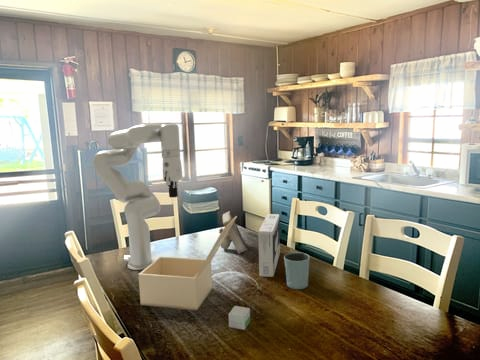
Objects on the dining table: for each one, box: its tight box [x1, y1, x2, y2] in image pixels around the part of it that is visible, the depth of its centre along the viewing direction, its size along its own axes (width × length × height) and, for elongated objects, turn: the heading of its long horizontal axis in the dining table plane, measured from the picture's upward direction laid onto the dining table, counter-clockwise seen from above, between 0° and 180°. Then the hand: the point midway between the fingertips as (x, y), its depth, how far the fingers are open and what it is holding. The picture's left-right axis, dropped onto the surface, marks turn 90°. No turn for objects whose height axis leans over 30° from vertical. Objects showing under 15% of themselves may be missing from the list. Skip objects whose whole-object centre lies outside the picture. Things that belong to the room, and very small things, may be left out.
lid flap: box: [195, 215, 238, 278], centre depth 135 cm, size 21×18×1 cm
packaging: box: [257, 213, 281, 278], centre depth 171 cm, size 30×6×20 cm, turn 168°
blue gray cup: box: [283, 251, 311, 290], centre depth 148 cm, size 10×10×12 cm
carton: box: [137, 256, 213, 311], centre depth 141 cm, size 22×18×12 cm
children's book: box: [218, 210, 248, 255], centre depth 192 cm, size 20×12×20 cm, turn 6°
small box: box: [228, 305, 251, 331], centre depth 121 cm, size 6×6×5 cm
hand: (173, 196), depth 157 cm, fingers closed
